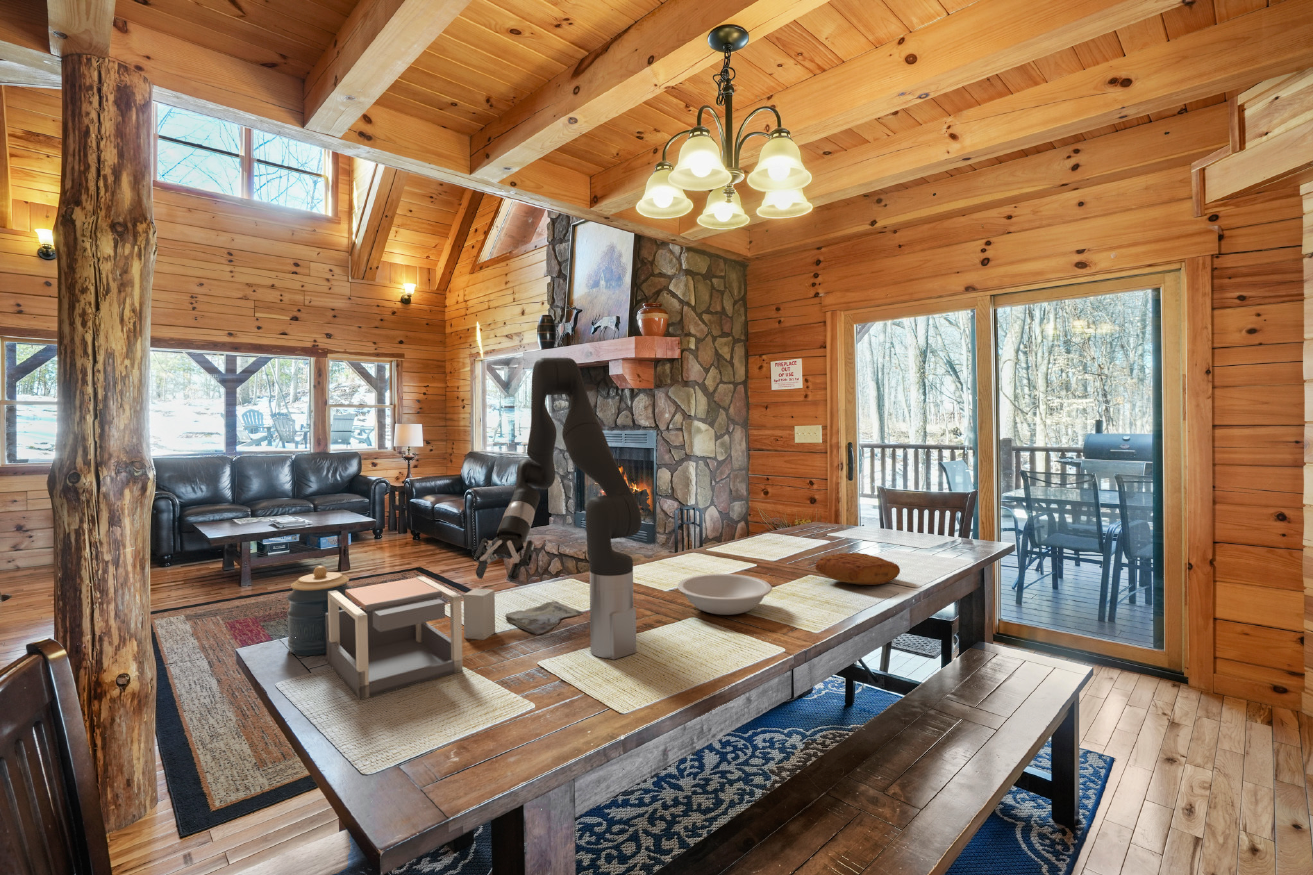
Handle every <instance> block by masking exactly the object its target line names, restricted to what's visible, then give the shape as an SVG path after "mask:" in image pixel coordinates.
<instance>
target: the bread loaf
mask: <svg viewBox="0 0 1313 875" xmlns="http://www.w3.org/2000/svg"><path fill="white" fill-rule="evenodd" d="M814 569H815V570H816V572H818V573H819V574H821V575H824V576H826V577H828V578H830V579H832V580H834V581H838V582H843V583H846V584H853V585H857V586H858V585H860V586H877V585H883V584H887V583H889V582H892V581H894V580H895V579H896V578H897V577H898V576H899V574H900V572H901V568H900V566H899V565H898V564H897V563H895V562H893V561H889V560H888V559H884V558H882V557H879V556H874V555H871V554H868V553H860V552H841V553H835V554H830V555H825V556H822V557H821V558H819V559H818V560H817V561H816V563H815V567H814Z"/></svg>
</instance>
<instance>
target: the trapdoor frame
mask: <svg viewBox="0 0 1313 875" xmlns="http://www.w3.org/2000/svg"><path fill="white" fill-rule="evenodd" d="M414 578H417V579H419V580H420V581H422V582H424V583H426V584H428V585H430V586H432V587H434V588H435V589H437V590H439V591H441V592H442V598H445V600H446V599H447V600H449V609H450V610H449V612H450V616H449V618H450V619H449V620H450V637H449V636H447V635H446V634H445V633H444V632H442V631H440V630H439V629H437V628H436V627H434V626H432V625H431V624H429V623H428V622H424V623H419V624H414V625H410V626H405V627H401V628H396V629H392V630H387V631H383V632H379V631H378V630H377V629H375V628H374V627H373V610H372V611H367V612H366V611H365V610H364V609H363V608H362V607H360V606H358V605H357V604H356V603H354V604H353V603H352V602H351V601H350V600H348V599H347V598H346V597H345V596H343V595H342V594H341V593H339V592H338V591H337V590H334V591H329V592H328V613H325V620H326V653H325V657H326V659H325V660H326V662H327V664H328V665H329V666H330V667H331V668H332V669H333V671H334V672H335V673H336V674H337V675H338V676H339V678H340V679H341V680H342V681H343V682H344V684H345V685H346V687H348V688H349V690H350V691H351V692H352V693H353V694H354V695H355V696H356V698H357V699H358V700H360V701H361V700H365V699H368V698H372V697H374V696H379V695H382V694H385V693H391V692H393V691H396V690H401V689H404V688H407V687H411V686H414V685H417V684H422V683H425V682H428V681H432V680H435V679H439V678H443V677H446V676H450V675H454V674H457V673H460V672H463V633H462V632H463V623H462V595H461V594H459V593H457V592H455V591H453V590H451V589H449V588H447V587H446V586H443V585H441V584H440V583H437V582H435V581H433V580H431V579H430V578H428V577H427V576H424V575H418V576H414ZM407 604H408V603H407ZM402 605H403V604H402ZM339 606H340V607H341V608H342V609H343V610H340V611H339ZM397 606H398V605H397ZM392 607H393V606H392ZM387 608H388V607H387ZM382 609H383V608H382Z"/></svg>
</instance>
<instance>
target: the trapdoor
mask: <svg viewBox="0 0 1313 875" xmlns="http://www.w3.org/2000/svg"><path fill="white" fill-rule="evenodd" d="M345 595H346V596H347V597H349V598H350V599H351V600H352V601H353V602H354V604H355V605H357V606H358V607H362V608H363V609H364V610H365V611H366V612H367V611H372V610H373V627H374V628H375V629H377V630H378V631H379V632H383V631H387V630H392V629H396V628H401V627H405V626H410V625H414V624H419V623H424V622H426V623H428V622H433V621H437V620H441V619H445V618H446V602H445V601H443V600H442V599H440V598H443V596H442V592H441V591H439V590H437V589H435V588H434V587H432V586H430V585H428V584H426V583H424V582H422V581H420V580H419V579H417V578H415V577H412V578H407V579H401V580H396V581H388V582H385V583H384V582H383V583H378V584H372V585H366V586H359V587H353V589H348V590H345ZM407 603H408V604H407ZM402 604H403V605H402ZM397 605H398V606H397ZM392 606H393V607H392ZM387 607H388V608H387ZM382 608H383V609H382Z"/></svg>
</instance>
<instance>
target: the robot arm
mask: <svg viewBox="0 0 1313 875" xmlns="http://www.w3.org/2000/svg"><path fill="white" fill-rule="evenodd" d="M578 365H579V364H578V363H577V361H575V360H574V359H573V358H570V357H564V356H563V357H540V358H537V359H536V361H535V362H534V365H533V367H532V371H531V372H532V374H531V394H530V396H531V398H530V399H531V400H530V406H531V407H530V408H531V411H530V414H531V416H530V430H529V435H528V436H529V437H528V442H527V448H526V454H527V456H528V458H524V459H523V460H521V461H519V463H518V464H517V466H516V467H517V468H516V476H515V478H516V480H515V488H514V492H513V495H512V497H511V500H510V502H509V504H508V505H507V506H508V507H506V509H505V511H504V514H503V516H502V519H501V521H500V524H499V526H498V528H497V532H496V536H495V538H494V539H493V540H488V539H487V538H486V537H485V538H482V539H481V542H480V544H478V545H479V546H478V548H477V550H476V552H475V554H474V556H473V558H474V559H475V561H476V562H477V563H478V565H477V567H476V570H475V574H476V578H478V579H479V580H483V578H484V576H485V573H486V571H487V568H488V565H489V564H491V563H492V562H495V561H497V559H507V560H512V559H513V561H514V563H512V566H511V568H510V571H509V574H508V576H507V577H508V579H509V580H510V582H515V580H516V579H517V578H518V576H519V573H520V571H521V569H522V568H523V567H529V566H531V563H532V559H533V556H534V552H535V548H536V546H535V544H534V542H533V541H532V540H527V538H528V536H529V533H530V530H531V527H532V526H533V521H534V518H535V514H536V511H537V508H538V505H539V504H540V500H541V494H540V492H539V491H538V490H537V489H535V488H538V489H541V490H548V489H549V488H551V487H552V486H553V484H554V483H555V479H556V468H555V463H554V453H555V452H554V451H555V448H556V447H555V446H556V442H557V436H558V435H557V427H556V424H555V422H554V420H553V417H552V416H551V415H550V413H549V410H548V409H547V406H546V400H547V399H546V398H547V396H556V395H557V396H558V395H559V396H561V395H565V396H567V397H568V399H569V402H570V407H569V410H568V413H567V416H566V418H565V420H564V422H563V426H562V430H561V431H562V432H561V434H562V440H563V442H564V446H565V447H566V451H567V453H568V456H569V459H571V461H572V463H573V464H574V465H575V467H577V468H578V469H580V471H582V472H583V473H584V474H585V475H586V476H588V477H589V478H591V479H592V480H593V481H594V482H595V483H596V484H597V485H598V486H599V487H600V488H601V489H602V491H603V493H604V494H605V495H600V496H597V495H596V496H593V497H591V498H590V499H589V500H588V502H587V505H586V508H585V531H586V532H585V534H586V545H587V546H586V549H587V550H586V552H587V558H588V563H589V625H590V626H589V634H590V635H589V637H590V639H589V641H590V653H591V655H594V656H595V657H598V658H603V659H604V658H605V659H610V660H617V659H620V658H622V657H626V656H630V655H632V654H636V653H637V609H636V607H634V561H633V560H634V559H633V557H632V556H631V555H629V554H628V553H627V554H626V553H623V552H619V551H616V550H614V549H613V547H612V540H614V539H616V540H617V539H622V538H628V537H633V536H635V535H637V534H638V533H639V532H640V530H641V528H642V513H641V509H640V506H639V504H638V501H637V499H636V498H635V495H634V493H633V491H632V490H631V488H630V487H629V485H628V483H627V481H626V479H625V477H624V476H623V473H622V472H621V470H620V469H619V466H618V463H617V461H616V460H615V457H614V456H613V453H612V451H611V448H610V446H609V443H608V440H607V438H606V435H605V433H604V431H603V428H602V426H601V424H600V422H599V420H598V418H597V416H596V414H595V411H594V408H593V406H592V403H591V401H590V399H589V395H588V392H587V389H586V386H585V382H584V379H583V376H582V373H581V370H580V368H579V366H578ZM523 550H524V551H523ZM522 551H523V552H524V553H523V555H522V558H520V555H519V553H521V552H522ZM493 553H494V554H493Z"/></svg>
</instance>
